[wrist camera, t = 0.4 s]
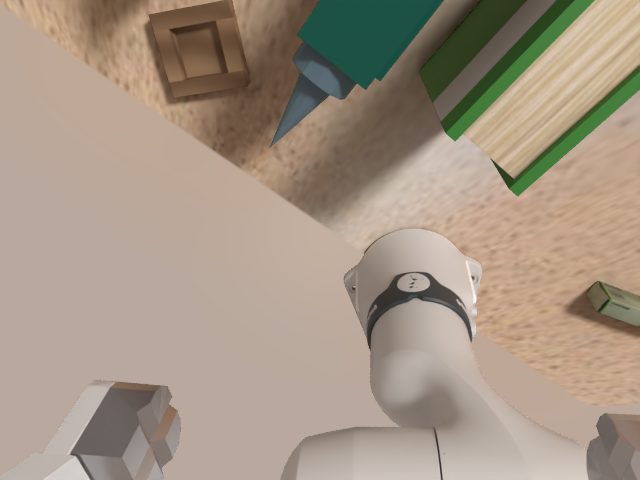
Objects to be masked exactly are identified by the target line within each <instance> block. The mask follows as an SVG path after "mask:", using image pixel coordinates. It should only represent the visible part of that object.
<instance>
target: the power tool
mask: <svg viewBox="0 0 640 480" xmlns="http://www.w3.org/2000/svg"><path fill="white" fill-rule="evenodd" d="M443 1H444V0H320V1H319V2H318V4H317V5H316V7H315V8H314V10H313V12H312V13H311V15H310V16H309V18H308V19H307V21H306V22H305V24H304V25H303V27H302V28H301V30H300V31H299V33H298V34H297V36H298V37H300V38H301V39H302V40H303V41H304V42H303V43H302V45H301V46H300V48H299V49H298V51H297V52H296V54H295V55H294V57H293V61H294V64H295V65H296V66H297V68H298V69H299V70H300V71H301V73H300V76H299V78H298V80H297V83H296V85H295V88H294V90H293V93H292V95H291V97H290V100H289V102H288V105H287V107H286V109H285V112H284V114H283V117H282V119H281V122H280V124H279V126H278V129H277V131H276V134H275V136H274V139H273V141H272V143H271V146H272V145H273V144H275V143H276V142H277V141H278V140H279V139H280V138H281V137H283V136H284V135H285V134H286V133H287V132H288V131H289V130H291V129H292V128H293V127H294V126H295V125H296V124H297V123H299V122H300V121H301V120H302V119H303V118H304V117H305V116H307V115H308V114H309V113H310V112H311V111H312V110H313V109H314V108H316V107H317V106H318V105H319V104H320V103H321V102H322V101H324V100H325V99H326V98H327V97H328V96H329V95H331V96H334V97H336V98H338V99H340V100H342V99H345V98H346V97H347V95H348V94H349V93H350V91H351V90H352V89H353V88H354V86H355V85H356V84H359V85H360V86H361V87H362V88H364V89H365V90H366V89H367V88H368V86H369V85H370V84H371V82H372V81H373V80H374V79H375V78H376V79H378V80H379V81H381V80H382V78H383V77H384V76H385V75H386V73H387V72H388V71H389V69H390V68H391V67H392V66H393V64H394V63H395V62H396V61H397V59H398V58H399V57H400V55H401V54H402V53H403V52H404V50H405V49H406V48H407V47H408V45H409V44H410V43H411V41H412V40H413V39H414V38H415V36H416V35H417V34H418V33H419V31H420V30H421V29H422V27H423V26H424V25H425V24H426V22H427V21H428V20H429V19H430V17H431V16H432V15H433V13H434V12H435V11H436V10H437V8H438V7H439V6H440V4H441V3H442V2H443ZM271 146H270V147H271Z"/></svg>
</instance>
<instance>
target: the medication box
mask: <svg viewBox="0 0 640 480" xmlns="http://www.w3.org/2000/svg"><path fill="white" fill-rule="evenodd" d="M587 296H588V297H589V299H590V301H591V303H592V304H593V306H594V308H595V310H596V311H597V312H599V313H601V314H604V315H606V316H609V317H612V318H615V319H618V320H621V321H623V322H626V323H629V324H632V325H635V326H637V327H640V296H638V295H635V294H633V293H630V292H627V291H624V290H622V289H619V288H616V287H614V286H611V285H608V284H605V283H603V282H599V281H597V282H596V283H595V284H594V285H593V286H592V287H591V288H590V290H589V291H588V293H587Z"/></svg>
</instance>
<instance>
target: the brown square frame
mask: <svg viewBox="0 0 640 480" xmlns="http://www.w3.org/2000/svg"><path fill="white" fill-rule="evenodd" d="M149 18H150V21H151V24H152V28H153V31H154V34H155V38H156V41H157V44H158V48H159V51H160V54H161V57H162V61H163V64H164V67H165V71H166V74H167V77H168V81H169V84H170V87H171V91H172V94H173V97H174V98H175V97H182V96H188V95H194V94H201V93H207V92H214V91H220V90H226V89H233V88H239V87H245V86H248V85H249V84H250V83H251V82H250V77H249V73H248V68H247V64H246V60H245V55H244V51H243V46H242V42H241V37H240V33H239V29H238V24H237V20H236V15H235V11H234V6H233V2H232V0H224V1H219V2H213V3H208V4H203V5H197V6H192V7H187V8H182V9H176V10H171V11H166V12H160V13H155V14H150V15H149Z"/></svg>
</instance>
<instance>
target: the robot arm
mask: <svg viewBox="0 0 640 480" xmlns="http://www.w3.org/2000/svg"><path fill="white" fill-rule="evenodd" d="M481 275H482V267H481V264H480V263H479V262H477V261H476V260H474V259H472V258H470V257H467V256H465V255H463V254H462V253H461V252H460V251H459V250H458V249H457V248H456V247H455V246H454V244H452V243H451V242H450V241H449V240H448V239H446V238H445V237H443V236H441V235H439V234H437V233H435V232H432V231H428V230H423V229H404V230H399V231H395V232H392V233H389V234H387V235H385V236H383V237H381V238H380V239H378V240H377V241H376V242H375V243H373V244H372V245H371V246H370V247H369V249H368V250H367V251H366V253H365V254H364V256H363V258H362V260H361V261H360V263H359V264H358V265H356V266H355V267H354V268H352V269H351V270H349V271H348V272H347V273H346V274H345V276H344V283H345V287H346V289H347V291H348V294H349V296H350V298H351V301H352V303H353V306H354V308H355V311H356V313H357V315H358V318H359V320H360V323H361V325H362V328H363V330H364V332H365V335H366V337H367V341H368V346H369V349H370V351H371V360H370V361H371V362H370V363H371V364H370V368H371V369H370V384H371V389H372V393H373V395H374V397H375V399H376V401H377V403H378V404H379V406H380V407H381V409H382V410H383V411H384V413H385V414H386V415H387V416H388V417H389V418H390V419H391V420H392V421H393V422H395V423H396V424H397V425H399V426H401V427H353V428H348V429H342V430H336V431H331V432H326V433H323V434H318V435H314V436H309V437H306V438H305V439H303V440H302V442H300V443H299V445H298V446H297V447H296V449H295V450H294V451H293V453H292V454H291V456H290V457H289V459H288V461H287V463H286V465H285V467H284V470H283V473H282V476H281V480H640V415H626V414H606V413H605V414H603V415H602V416H600V418H599V420H598V423H597V425H596V427H597V429H598V432H599V435H600V436H598V437H597V438H595V439H593V440H591V441H590V443H589V447H588V450H587V451H586V449H584V448H583V447H582V446H581V445H580V444H579V443H577V442H576V441H575V440H573V439H571V438H568V437H566V436H563V435H561V434H559V433H557V432H554V431H552V430H550V429H548V428H546V427H544V426H542V425H540V424H539V423H537V422H536V421H534V420H532V419H531V418H529V417H527V416H526V415H524V414H523V413H522V412H520V411H519V410H518V409H516V408H515V407H514V406H512V405H511V404H510V403H509V402H508V401H506V400H505V399H504V398H503V397H502V396H501V395H500V394H499V393H498V392H497V391H496V390H495V389H494V388H493V387H492V386H491V385H490V384H489V382H488V381H487V380H486V378H485V377H484V376H483V374H482V372H481V370H480V367H479V365H478V362H477V359H476V357H475V354H474V351H473V348H472V345H471V341H472V338H475V336H476V324H475V322H473V321H471V319H472V318H474V317H476V316H477V308H476V307H474V306H475V303H476V297H477V293H478V288H479V284H480V279H481ZM471 276H474V277H473V278H472V277H471ZM353 286H356V288H353ZM171 398H172V395H171V393H170V391H169V389H168V386H161V385H149V384H138V383H125V382H116V381H101V380H95V381H93V382H92V383H90V384H89V385H88V386H87V387H86V388H85V390H84V391H83V393H82V394H81V396H80V397H79V399H78V400H77V402H76V403H75V405H74V406H73V408H72V409H71V411H70V412H69V414H68V415H67V417H66V419H65V420H64V421H63V423H62V425H61V426H60V428H59V429H58V430H57V432H56V433H55V435H54V436H53V438H52V440H51V441H50V443H49V444H48V446H47V447H46V449H45V450H44V452H35V453H34V454H32V455H31V456H30V457H28V458H27V459H25V460H24V461H22V462H21V463H20V464H18V465H17V466H15V467H14V468H12V469H11V470H10V471H8V472H7V473H5V474H4V475H2V476H1V477H0V480H164V476H163V472H162V467H163V466H164V465H165V464H166V463H167V462H169V461H170V460H171V459H172V458H173V456H174V454H175V452H176V449H177V446H178V444H179V438H180V432H181V422H180V417H179V414H178V411H177V410H176V409H174V408H173V407H172V406H171V405H169V402H170V400H171Z"/></svg>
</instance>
